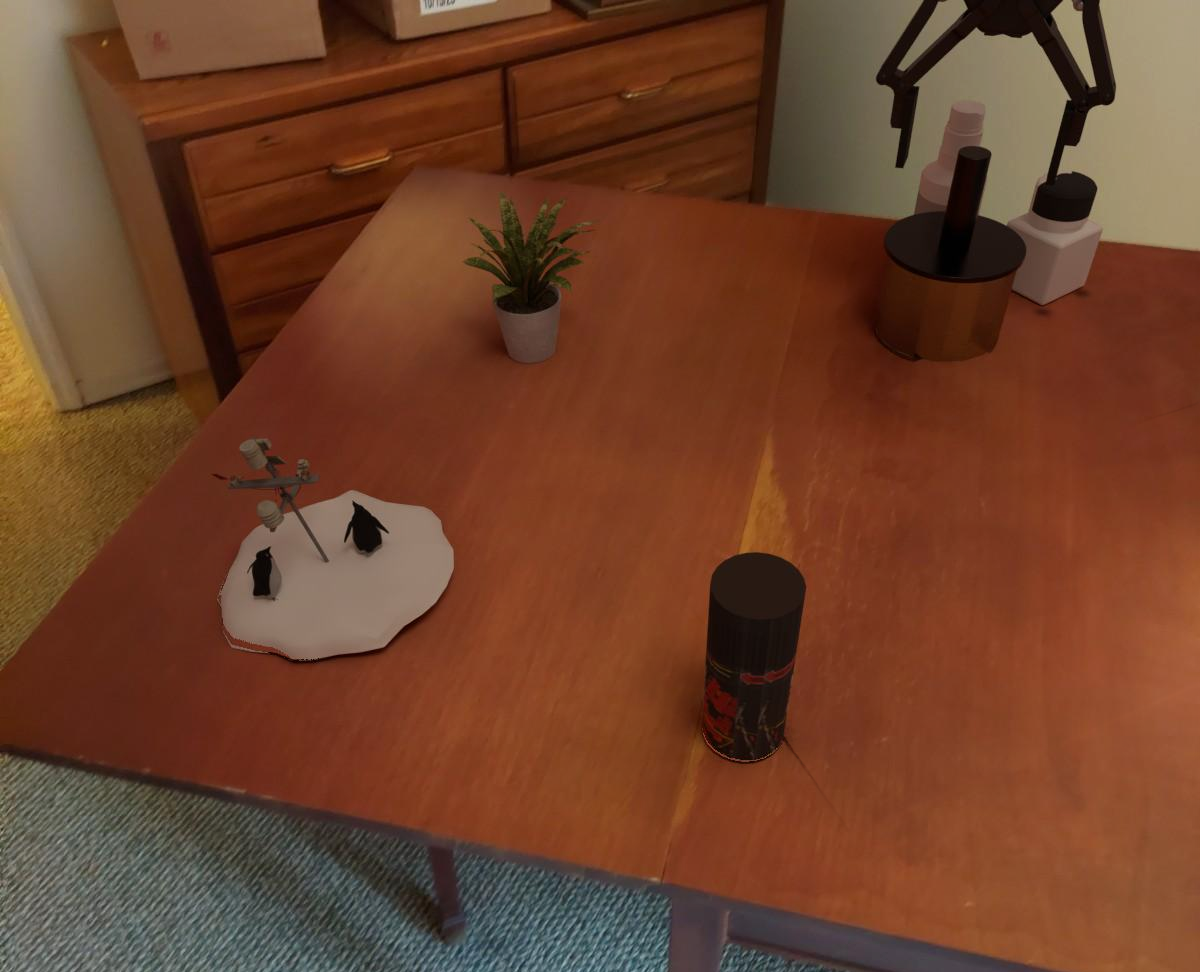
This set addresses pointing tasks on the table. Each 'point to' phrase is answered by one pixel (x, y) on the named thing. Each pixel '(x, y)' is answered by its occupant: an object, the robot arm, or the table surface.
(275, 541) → the figurine
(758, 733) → the deodorant
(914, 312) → the tin
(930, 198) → the spray bottle
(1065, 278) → the medicine bottle
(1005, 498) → the table surface
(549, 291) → the house plant
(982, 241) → the tin lid
